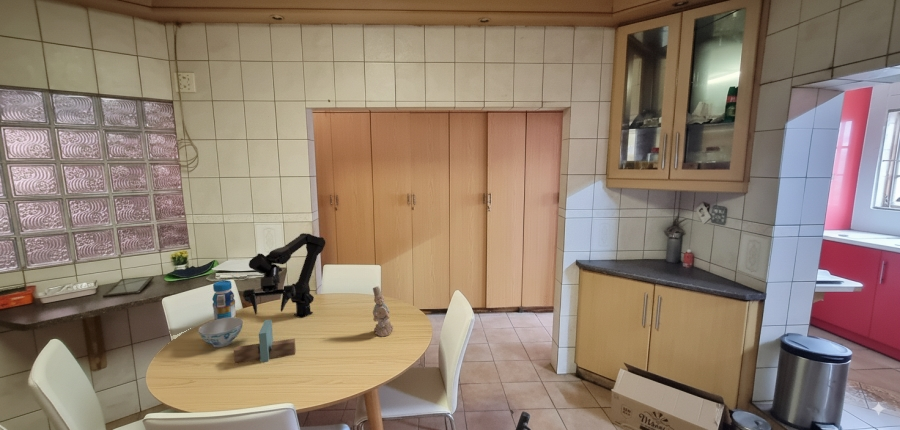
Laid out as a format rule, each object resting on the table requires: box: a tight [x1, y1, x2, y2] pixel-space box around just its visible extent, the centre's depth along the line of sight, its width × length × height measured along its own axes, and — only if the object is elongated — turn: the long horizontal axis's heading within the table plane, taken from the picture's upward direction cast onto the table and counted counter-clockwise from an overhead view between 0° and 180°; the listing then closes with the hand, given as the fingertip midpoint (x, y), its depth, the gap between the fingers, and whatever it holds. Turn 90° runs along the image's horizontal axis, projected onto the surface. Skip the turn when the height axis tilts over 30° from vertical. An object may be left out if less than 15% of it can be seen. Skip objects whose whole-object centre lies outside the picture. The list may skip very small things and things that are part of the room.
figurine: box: [372, 285, 394, 337], centre depth 150 cm, size 9×8×20 cm
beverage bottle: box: [212, 280, 237, 320], centre depth 157 cm, size 8×8×20 cm
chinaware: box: [198, 316, 244, 348], centre depth 142 cm, size 15×15×8 cm
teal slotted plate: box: [258, 319, 274, 363], centre depth 133 cm, size 12×2×11 cm, turn 18°
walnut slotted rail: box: [233, 338, 297, 364], centre depth 131 cm, size 20×3×5 cm, turn 108°
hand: (268, 312), depth 140 cm, fingers open, 9 cm apart
